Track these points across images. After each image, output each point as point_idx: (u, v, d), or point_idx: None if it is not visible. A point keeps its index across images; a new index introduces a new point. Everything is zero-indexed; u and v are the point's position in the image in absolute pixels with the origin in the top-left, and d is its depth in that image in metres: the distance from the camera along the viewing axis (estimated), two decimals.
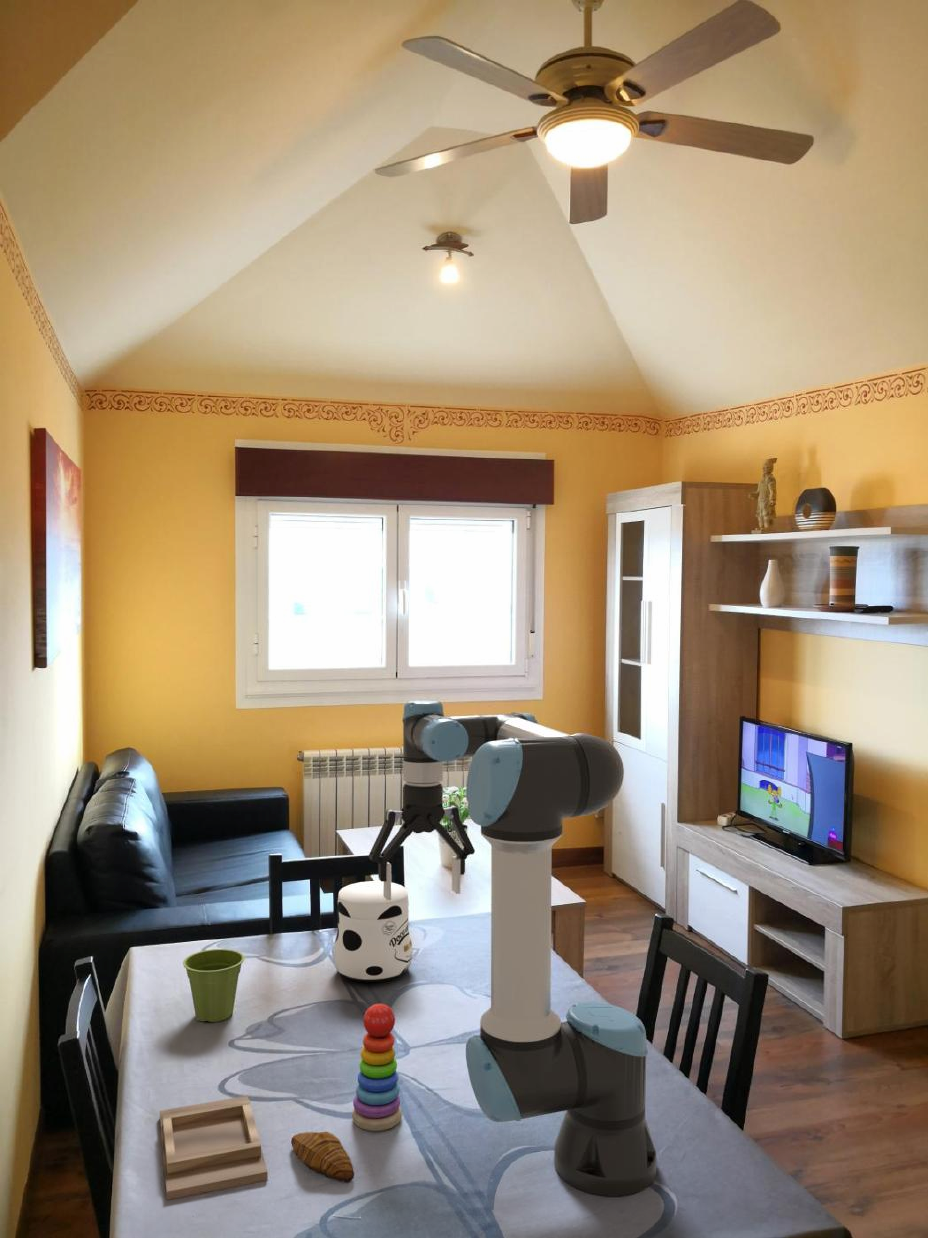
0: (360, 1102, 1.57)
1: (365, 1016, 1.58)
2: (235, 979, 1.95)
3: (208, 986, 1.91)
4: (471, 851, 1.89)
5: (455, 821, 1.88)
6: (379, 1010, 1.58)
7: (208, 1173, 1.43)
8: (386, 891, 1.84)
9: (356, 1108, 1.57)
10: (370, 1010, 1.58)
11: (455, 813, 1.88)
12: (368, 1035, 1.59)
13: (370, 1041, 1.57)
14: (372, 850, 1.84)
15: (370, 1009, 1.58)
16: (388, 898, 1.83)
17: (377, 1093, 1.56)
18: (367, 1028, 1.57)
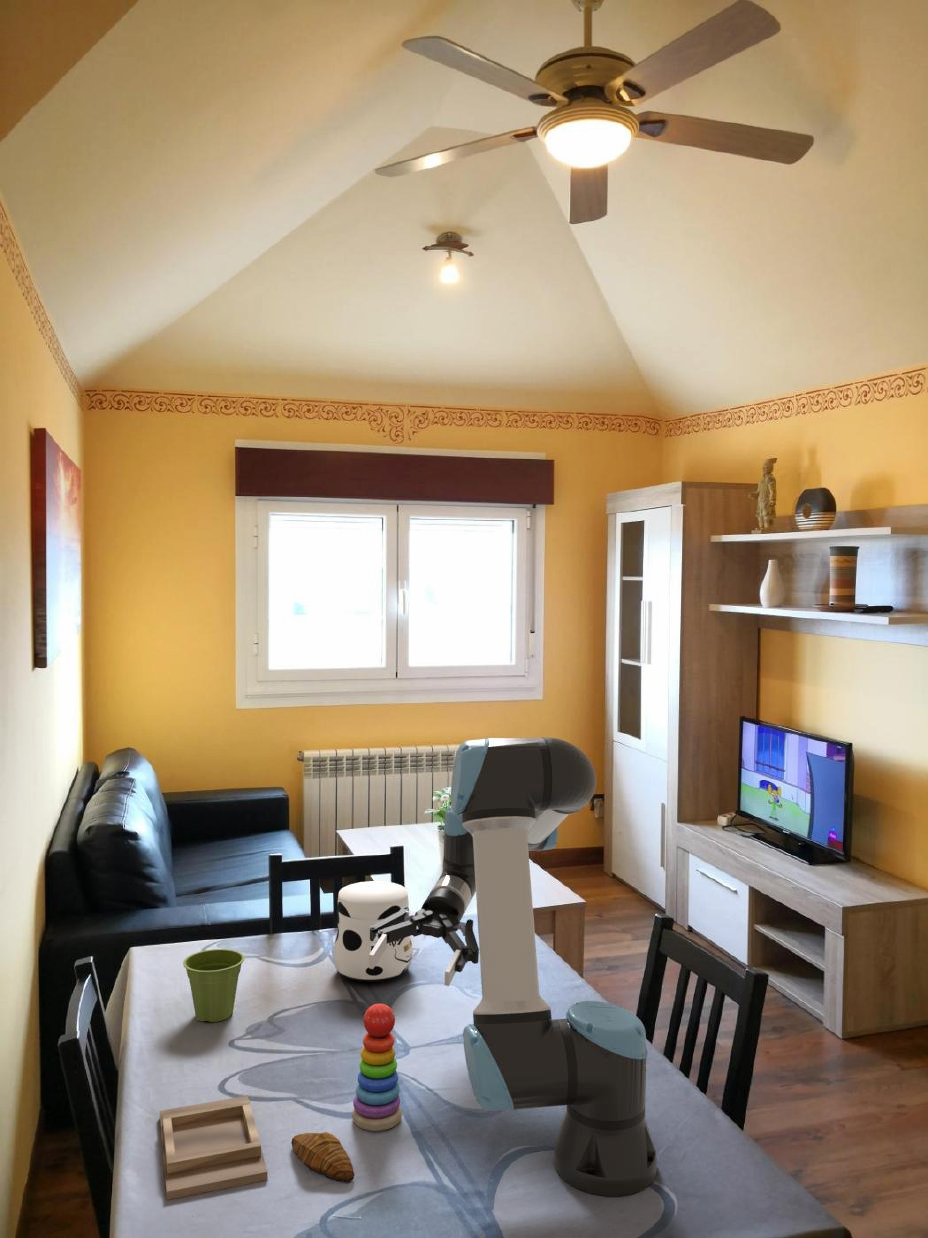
0: (360, 1102, 1.57)
1: (365, 1016, 1.58)
2: (235, 979, 1.95)
3: (208, 986, 1.91)
4: (475, 949, 1.72)
5: (466, 927, 1.78)
6: (379, 1010, 1.58)
7: (208, 1173, 1.43)
8: None
9: (356, 1108, 1.57)
10: (370, 1010, 1.58)
11: (469, 922, 1.80)
12: (368, 1035, 1.59)
13: (370, 1041, 1.57)
14: None
15: (370, 1009, 1.58)
16: (371, 953, 1.69)
17: (377, 1093, 1.56)
18: (367, 1028, 1.57)
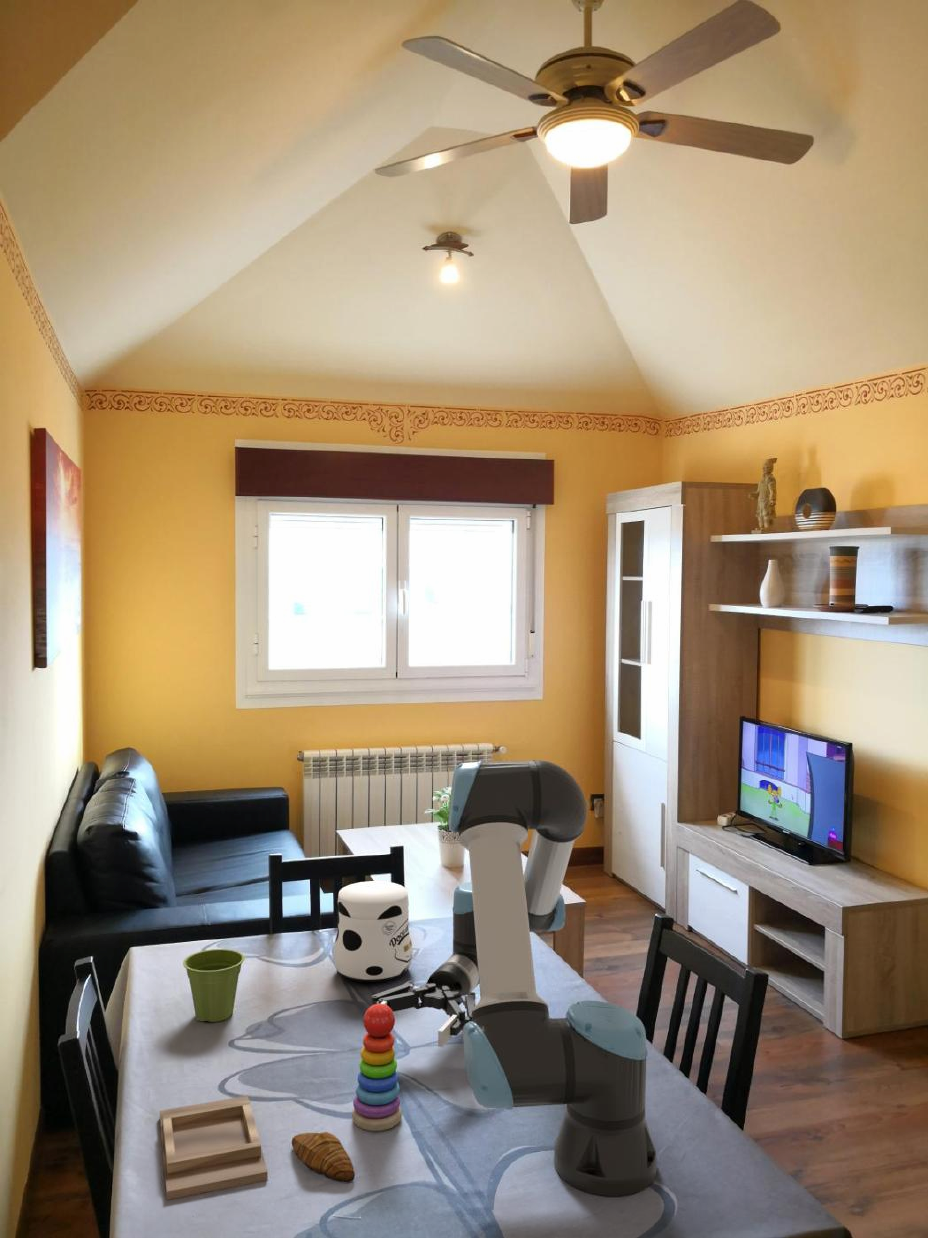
0: (360, 1102, 1.57)
1: (365, 1016, 1.58)
2: (235, 979, 1.95)
3: (208, 986, 1.91)
4: (472, 1014, 1.72)
5: (467, 998, 1.78)
6: (379, 1010, 1.58)
7: (208, 1173, 1.43)
8: None
9: (356, 1108, 1.57)
10: (370, 1010, 1.58)
11: (470, 995, 1.80)
12: (368, 1035, 1.59)
13: (370, 1041, 1.57)
14: None
15: (370, 1009, 1.58)
16: None
17: (377, 1093, 1.56)
18: (367, 1028, 1.57)
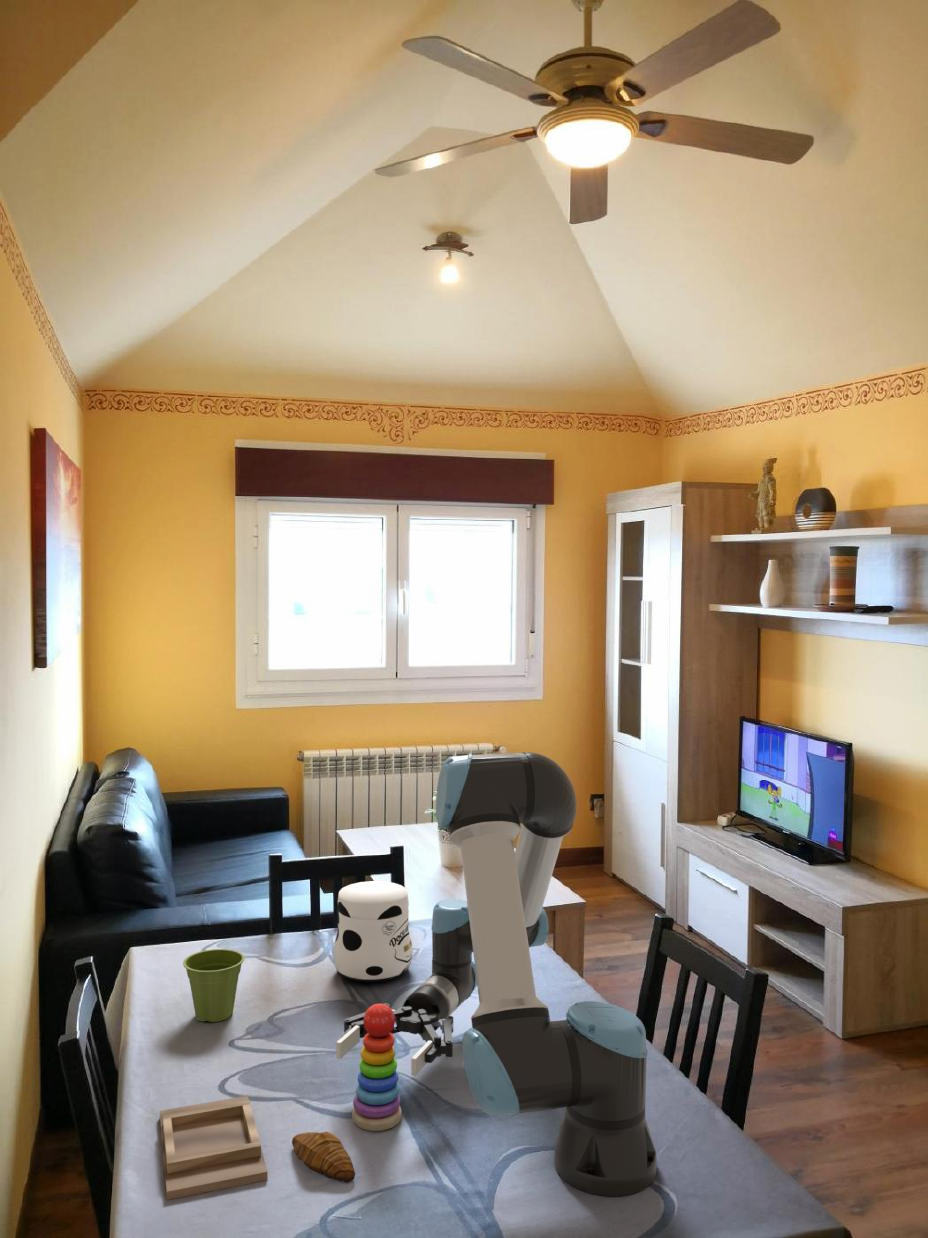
0: (360, 1102, 1.57)
1: (365, 1016, 1.58)
2: (235, 979, 1.95)
3: (208, 986, 1.91)
4: (448, 1040, 1.63)
5: (445, 1022, 1.70)
6: (379, 1010, 1.58)
7: (208, 1173, 1.43)
8: None
9: (356, 1108, 1.57)
10: (370, 1010, 1.58)
11: (448, 1018, 1.71)
12: (368, 1035, 1.59)
13: (370, 1041, 1.57)
14: None
15: (370, 1009, 1.58)
16: (338, 1041, 1.62)
17: (377, 1093, 1.56)
18: (367, 1028, 1.57)
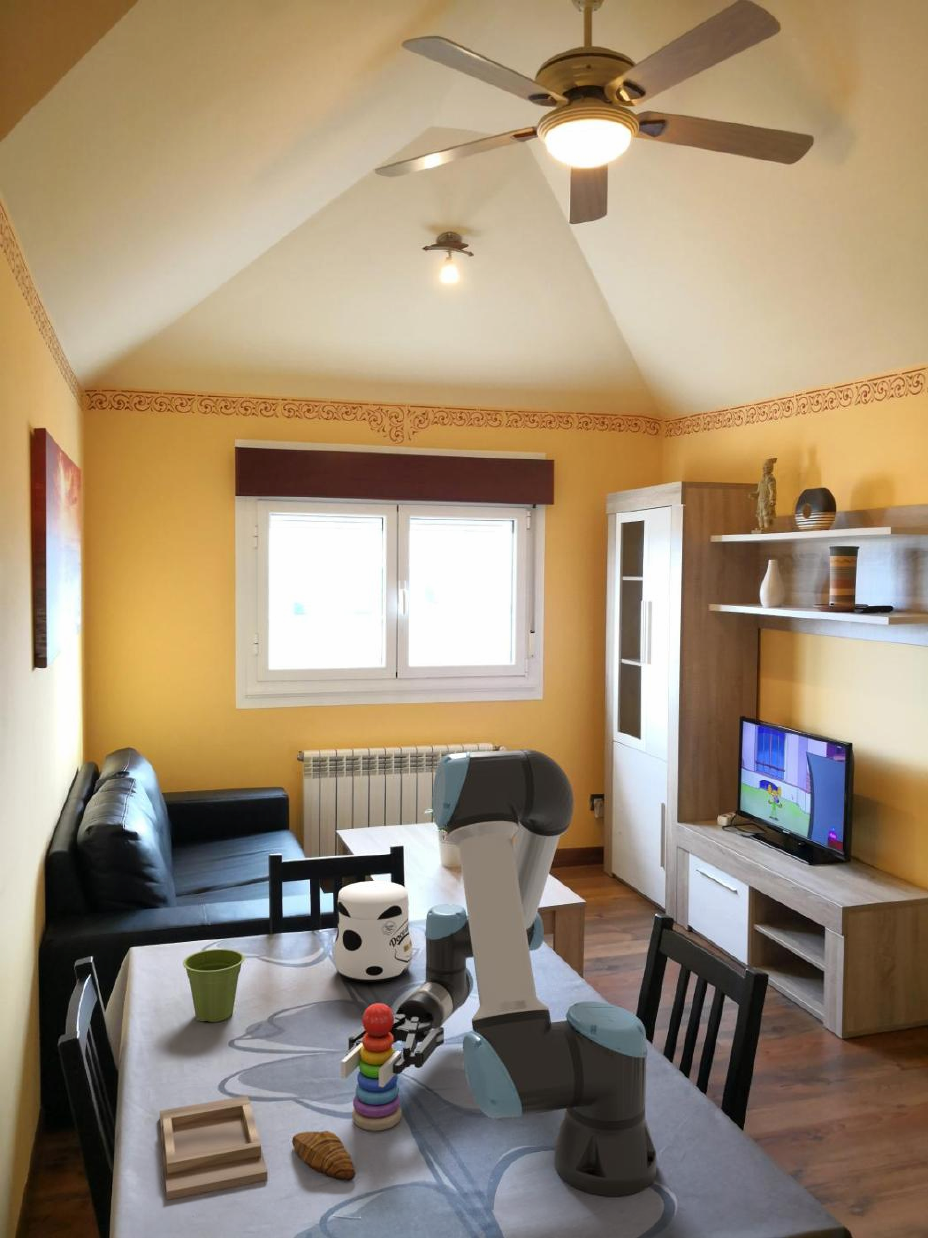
0: (360, 1102, 1.57)
1: (364, 1016, 1.58)
2: (235, 979, 1.95)
3: (208, 986, 1.91)
4: (417, 1050, 1.59)
5: (431, 1032, 1.66)
6: (378, 1009, 1.58)
7: (208, 1173, 1.43)
8: None
9: (356, 1108, 1.57)
10: (368, 1009, 1.58)
11: (437, 1029, 1.67)
12: (367, 1035, 1.59)
13: (369, 1040, 1.57)
14: None
15: (369, 1009, 1.58)
16: (343, 1060, 1.56)
17: (377, 1093, 1.56)
18: (366, 1028, 1.57)
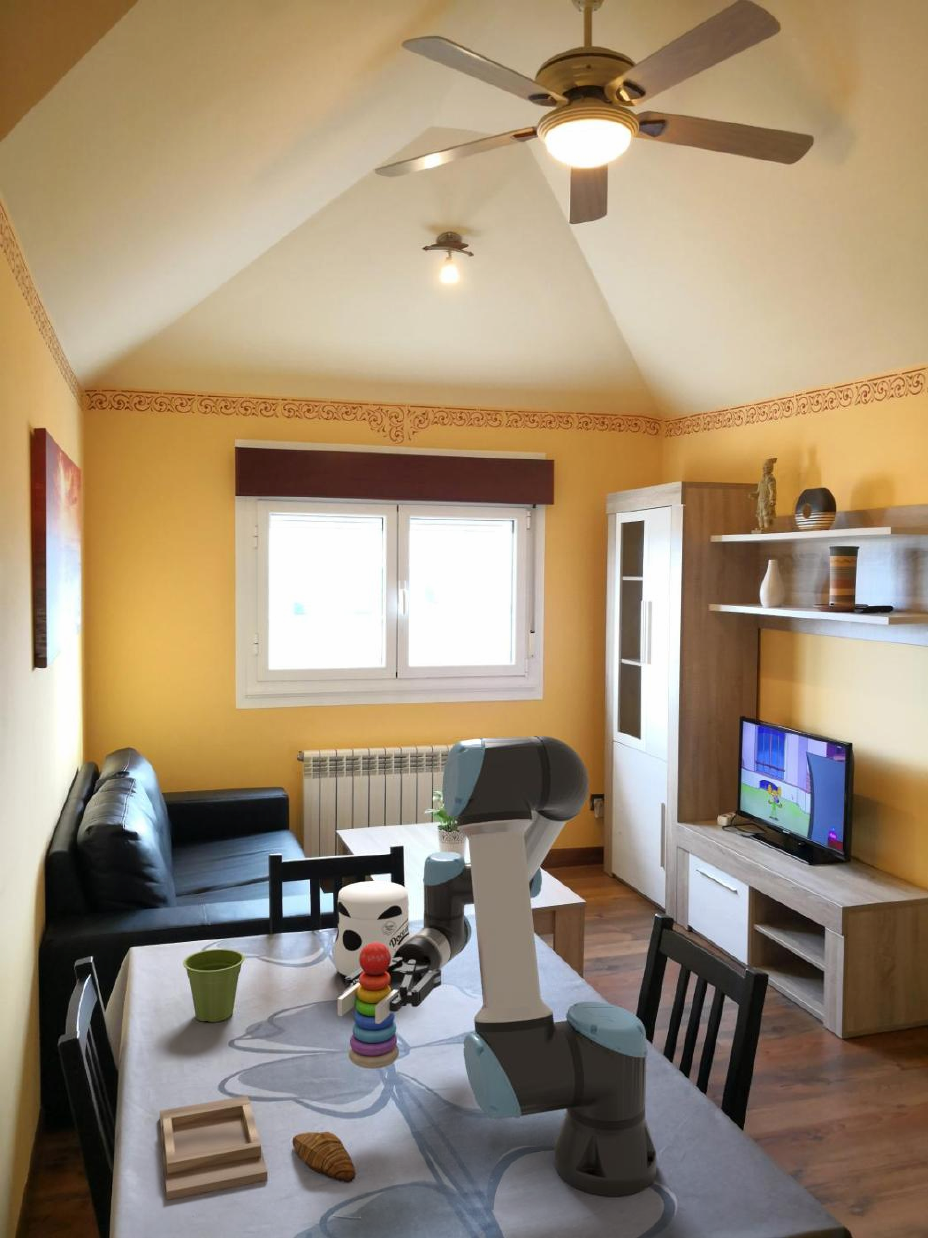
0: (356, 1040, 1.57)
1: (361, 954, 1.58)
2: (235, 979, 1.95)
3: (208, 986, 1.91)
4: (414, 989, 1.59)
5: (428, 974, 1.65)
6: (375, 948, 1.57)
7: (208, 1173, 1.43)
8: None
9: (353, 1046, 1.57)
10: (365, 948, 1.58)
11: (435, 971, 1.66)
12: (364, 974, 1.58)
13: (366, 979, 1.57)
14: None
15: (366, 947, 1.58)
16: (340, 998, 1.55)
17: (373, 1031, 1.56)
18: (363, 966, 1.57)
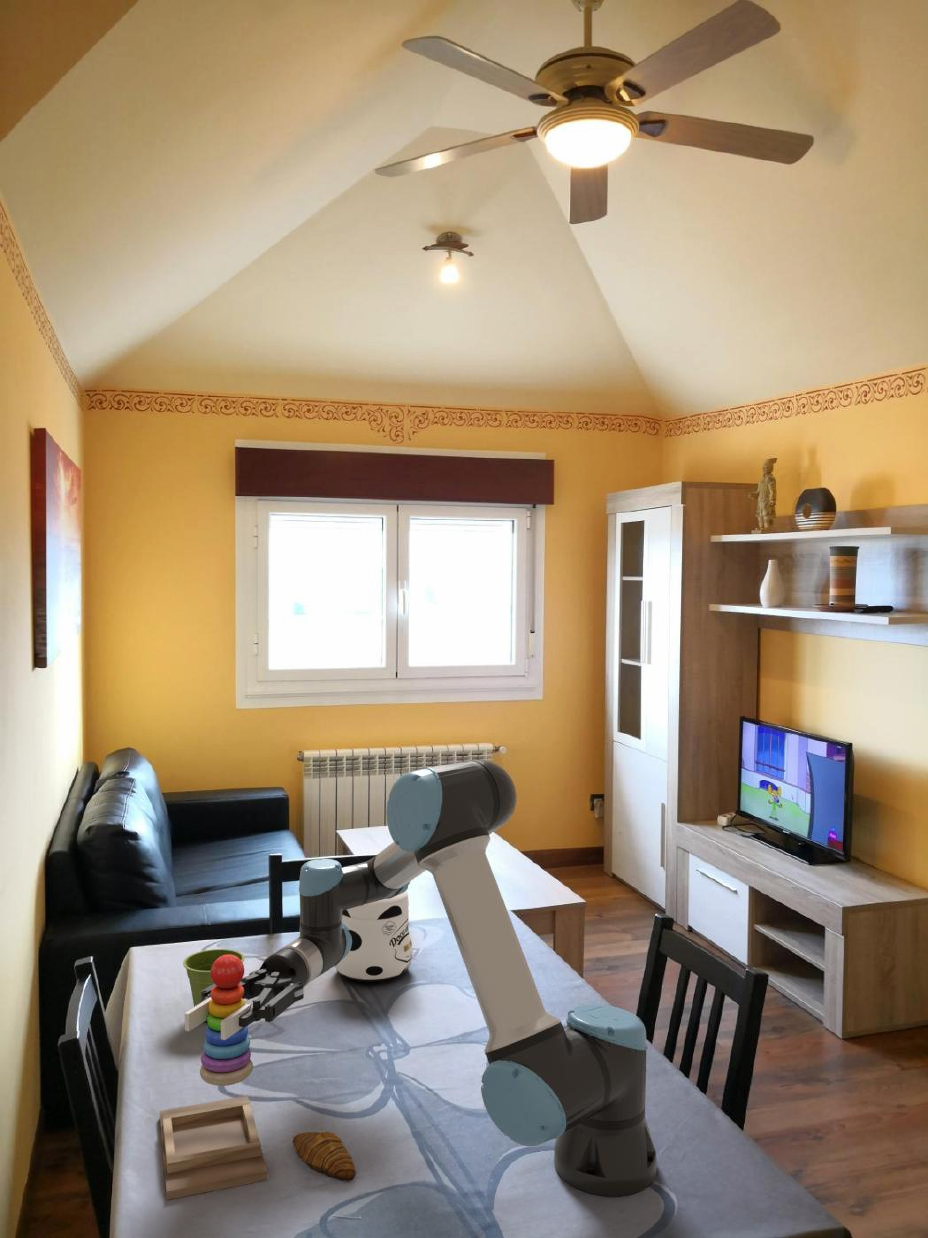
0: (207, 1056, 1.51)
1: (212, 967, 1.52)
2: None
3: (208, 986, 1.91)
4: (268, 1004, 1.53)
5: (289, 987, 1.59)
6: (226, 960, 1.52)
7: (208, 1173, 1.43)
8: None
9: (202, 1062, 1.51)
10: (217, 960, 1.52)
11: (296, 984, 1.60)
12: (216, 987, 1.53)
13: (216, 992, 1.51)
14: None
15: (217, 960, 1.52)
16: (187, 1012, 1.50)
17: (223, 1046, 1.50)
18: (213, 979, 1.51)
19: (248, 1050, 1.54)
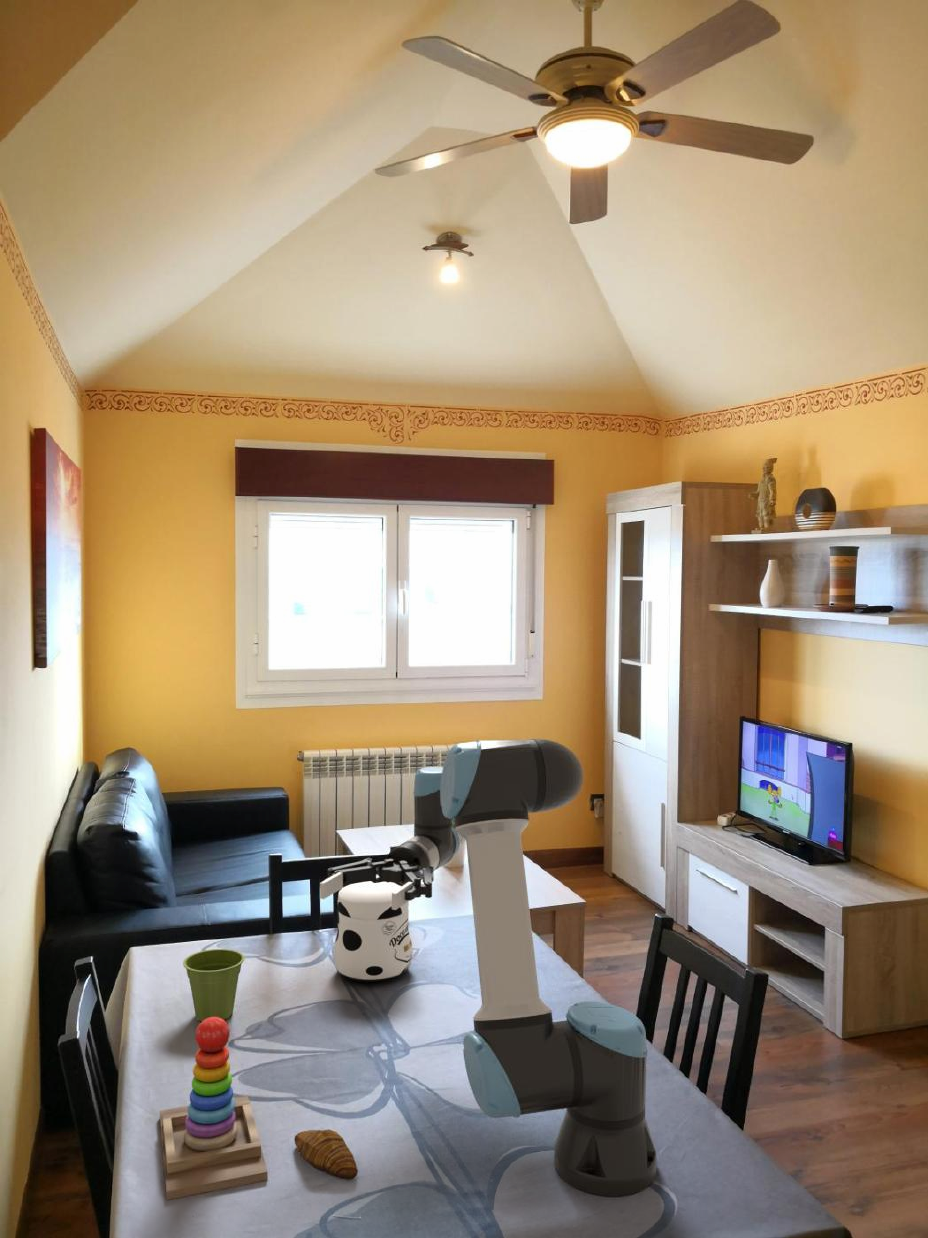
0: (191, 1120, 1.50)
1: (197, 1030, 1.50)
2: (235, 979, 1.95)
3: (208, 986, 1.91)
4: (428, 882, 1.69)
5: (425, 870, 1.76)
6: (211, 1023, 1.50)
7: (208, 1173, 1.43)
8: None
9: (186, 1127, 1.50)
10: (202, 1023, 1.51)
11: (428, 868, 1.77)
12: (201, 1050, 1.51)
13: (201, 1056, 1.50)
14: None
15: (202, 1023, 1.51)
16: (322, 882, 1.68)
17: (207, 1111, 1.49)
18: (198, 1043, 1.50)
19: (233, 1113, 1.52)
